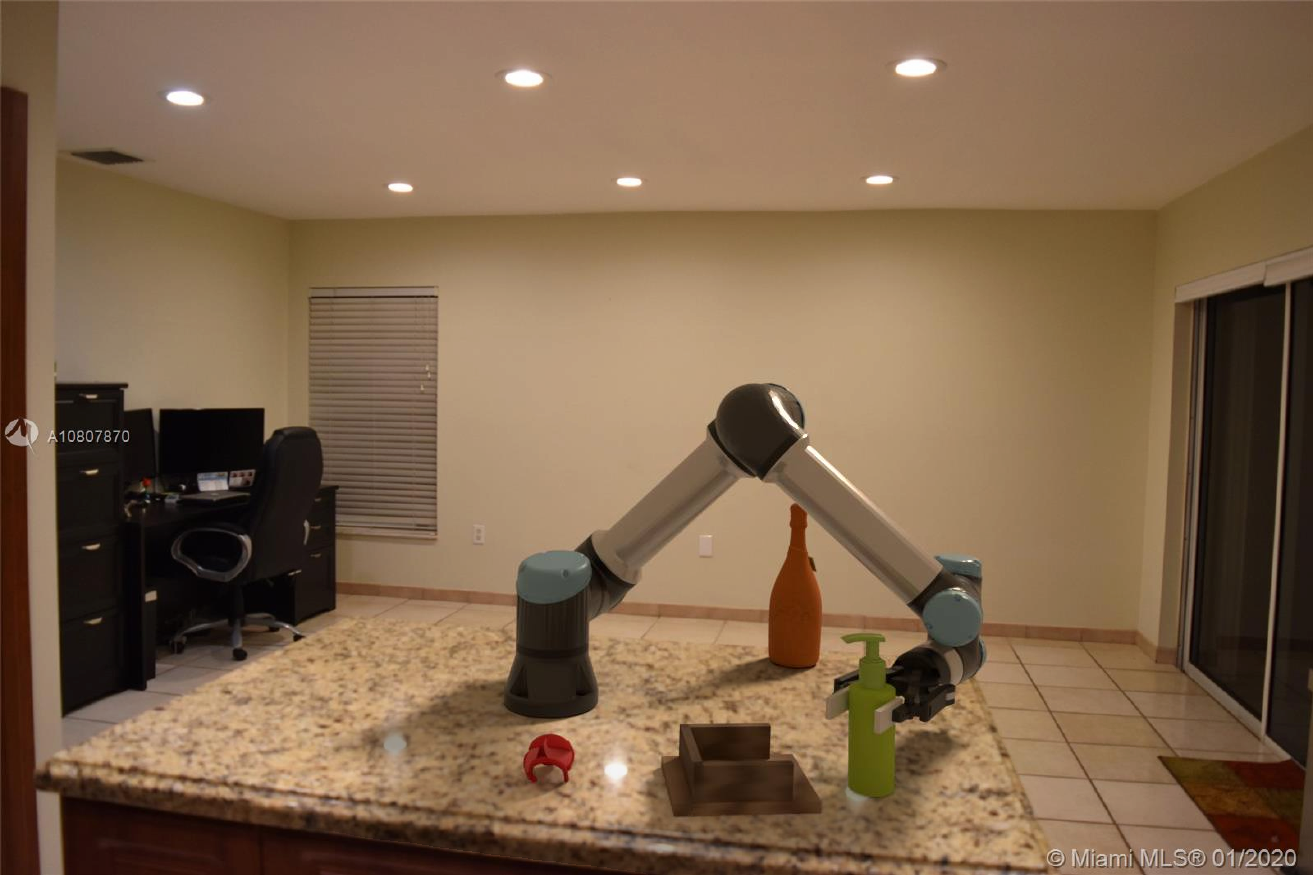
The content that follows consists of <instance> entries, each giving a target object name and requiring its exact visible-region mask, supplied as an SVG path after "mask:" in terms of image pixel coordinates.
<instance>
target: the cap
mask: <svg viewBox="0 0 1313 875" xmlns="http://www.w3.org/2000/svg"><path fill="white" fill-rule="evenodd" d="M575 754H576V752H575V751H574V748H573V745H572V744H571V742H570V740H568V739H566V738H565V737H563V736H561V735H559V734H557V733H545V734H541V735H538V736H537V737H536V738H534V739H533V740H532V741H531V742H530V744H529V747H528V751H527V752H526V753H525V755H524V756H523V759H522V760H523V761H522V765H523V766H522V767H523V770H524V773H525V776H526V777H527V779H528V781H530V782H531V783H532V784H536V783H537V782H538V777H537V776H536V775H535V774H534V768H535V767H536V766H540V765H543V766H547V767H553V766H555V767H557V768H559V769H560V770H561V772H562V775H563V781H564V782H565V783H568V782H569V781H570V777H569V772H570V771H571V769H572V766H573V764H574V761H575V758H576V757H575Z"/></svg>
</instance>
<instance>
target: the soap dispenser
mask: <svg viewBox="0 0 1313 875" xmlns="http://www.w3.org/2000/svg"><path fill="white" fill-rule="evenodd" d="M840 639H841V640H842V641H843V642H844V643H845V644H847V645H849V644H854V643H861V642H864V643H865V656H863V657H861V658H859V660H858V669H859V681H858V682H854V683H851V684H850V685H849V710H848V724H847V725H848V735H847V736H848V737H847V738H848V741H847V745H848V746H847V748H848V749H847V751H848V752H847V753H848V754H847V786H848V789H849V790H850V791H851V792H852V793H855V794H858V795H860V796H864V797H869V798H882V797H883V798H884V797H888V796H890V795H892V794H893V793H894V792H895V787H896V786H895V784H896V781H895V780H896V778H895V777H896V773H895V772H896V769H895V768H896V763H895V762H896V724H894V725H893V726H891V727H890V728H888V729H886V730H885V731H883V732H882V733H880V734H878V733H875V732H874V719H875V710H877V709H878V708H880V707H882V706H883V705H885V704H887V703H888V702H890V701H892V700H893V699H895V698H897V696H896V689H895V688H894V687H893V686H892V685H889V684H887V683H886V668H887V663H886V660H885V659H883V658H882V657H880V643H886V637H885V636H884V635H883V634H881V633H875V632H874V633H873V632H857V633H855V632H854V633H850V634H846V635H842V636H840Z"/></svg>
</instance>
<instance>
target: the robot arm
mask: <svg viewBox="0 0 1313 875" xmlns="http://www.w3.org/2000/svg"><path fill="white" fill-rule="evenodd" d="M805 429H806V414H805V409H804V407H803V404H802V403H801V401H800V400H799V398H798V397H797V395H796V394H794V393H793V392H792V391H791V390H790V389H788V388H787V387H784V386H783V385H780V384H777V383H774V382H767V383H766V382H764V383H746V384H741V385H740V386H737V387H735V388H733V389H732V390H730V391H729V392H728V393H727V394H726V395H725V396H724V397H723V398H722V399H721V402H720V403H719V405H718V407H717V411H716V414H715V418H714V419H712V420H711V422H709V423H708V424H707V425H706V428H705V430H706V434H705V436H706V437H705V440H704V441H702V442H701V444H699V446H697V447H696V448H695V449H694V450H692V452H691V453H690V454H688V455H687V456H686V457H685V459H683V460H682V461H681V462H680V463H679V464H678V465H677V466H675V468H673V469H672V470H671V471H670V472H669V473H668V474H667V475H666V476H665V477H663V479H662V480H661V481H660V482H659V483H657V485H655V486H654V487H653V488H652V489H651V490H650V491H649V492H648V493H647V494H646V495H644V496H643V498H641V499H640V500H639V501H638V502H637V503H636V504H635V505H634V506H633V507H632V508H631V509H630V510H628V511H627V512H626V513H625V514H624V515H623V516H622V517H621V518H620V519H619V520H618V521H617V522H616V523H614V525H613V526H611V527H610V528H608V530H607V529H596V530H594V531H593V532H592V533H591V534H590V535H589V536H588V537H586V538H585V540H583V542H582V543H580V544H579V545H578V546H577V547H576V548H575V549H574V550H568V549H567V550H564V549H563V550H561V549H558V550H557V549H556V550H555V549H554V550H547V551H546V552H537V553H534V554H531V555H529V556H527V557H526V558H524V559H523V560H522V561H521V562H520V564H519V565H518V568H517V578H516V581H515V591H516V606H515V607H516V613H515V614H516V615H515V616H516V618H515V619H516V620H515V621H516V622H515V626H516V627H515V629H516V630H515V642H516V643H515V656H514V658H513V662H512V665H511V667H510V670H509V674H508V676H507V679H506V681H505V685H504V688H503V704H504V706H505V708H507V709H508V710H510V711H512V712H514V713H517V714H520V715H524V716H527V717H528V716H529V717H536V718H562V717H570V716H571V717H572V716H575V715H580V714H583V713H586V712H588V711H590V710H593V709H594V708H595V707H596V706H597V705H598V703H599V697H600V696H599V692H600V690H599V684H598V681H597V677H596V674H595V671H594V667H593V664H592V660H591V657H590V650H589V648H590V644H589V643H590V642H589V641H590V622H591V621H594V619H596V618H599V617H600V616H601V615H603V614H605V613H607V612H608V611H611V610H613V609H615V608H616V607H617V606H618V605H619V604H620V603H621V602H622V601H623V600H624V598H625V597H626V596H627V594H628V593H629V591H631V590H632V589H633V588H634V587H635V586H637V584H639V583H640V581H641V580H642V577H643V567H644V566H646V564H648V563H649V562H650V560H652V559H653V558H654V557H655V556H656V555H658V553H660V552H661V551H662V550H664V548H666V547H667V545H668V544H670V543H671V542H672V541H673V540H674V539H675V538H676V537H677V536H678V535H680V534H681V533H682V532H683V531H684V530H685V529H686V528H687V527H689V525H691V524H692V523H693V522H694V521H695V520H696V519H697V518H698V517H699V516H701V515H702V514H703V513H704V512H705V511H706V510H708V508H710V507H711V506H712V505H714V503H716V501H717V500H719V498H720V497H721V496H723V495H724V494H726V492H728V490H729V489H731V488H732V487H733V486H734V485H735V484H737V482H739V480H741V479H743V478H744V479H745V478H746V479H755V478H758V479H759V480H760V481H761V482H762V483H764V484H775V485H776V486H777V487H778V488H779V489H780V490H781V491H782V492H784V493H785V495H787V496H788V497H789V498H790V499H791V500H792V501H793V503H797V504H798V505H799V506H800V507H801V508H802V509H803V510H804V511H805V512H806V513H807V516H809V517H811V519H813V520H814V521H815V522H816V523H817V524H818V525H820V527H821V528H822V529H823V530H825V532H827V533H828V534H829V535H830V536H831V537H832V538H834V540H835V541H836V542H837V543H839V544H840V545H841V546H842V548H844V549H845V550H846V551H847V552H848V553H849V554H850V555H852V556H853V557H854V559H855V560H857V561H858V562H859V563H861V564H862V566H864V568H865V569H867V570H868V571H869V572H870V573H871V574H873V575H874V576H875V577H876V578H877V580H879V581H880V582H881V583H882V584H883V585H884V586H885V587H887V589H888V590H890V592H892V593H893V594H894V595H895V596H896V597H897V598H898V599H899V600H900V601H902V602H903V603H904V604H905V606H907V607H908V608H909V609H910V611H911V612H913V613H914V614H915V615H916V616H917V617H918V618H919V619H920V620H922V622H923V623H922V624H923V626H924V627H925V629H926V631H927V632H926V641H925V642H922V643H920V644H917V645H916V646H914V647H912V648H911V649H910V650H907V651H906V652H904V653H902V654H900V655H899V656H898V657H897V658H896V659H895V661H894V662H893V663H892V665H891V666H890V667H886V683H887V684H889V685H892V686H893V687H894V688H895V689H896V698H895V699H893V700H892V701H890V702H888V703H887V704H885V705H883V706H882V707H880V708H878V709H877V710H875V719H874V732H875V733H878V734H880V733H882V732H883V731H885V730H886V729H888V728H890V727H891V726H893V725H894V724H895V725H896V724H902V723H904V722H905V721H910V720H914V719H915V718H918V720H919V721H920V722H923V723H928V722H930V721H931V720H932V719H933V718H935V716H936V715H938V714H940V712H941V711H942V710H943V709H945V708H946V707H949V706H952V705H955V703H956V687H957V686H959V685H961V684H962V683H964V682H966V681H967V680H970V679H972V678H973V677H975V676H976V675H977V673H978V672H979V671H980V670H981V669H982V668H983V666H984V665H985V663H986V660H987V654H988V652H987V646H986V644H985V642H984V640H983V638H982V637H981V635H980V630H981V627H982V624H983V622H984V611H983V607H982V586H983V579H984V578H983V570H982V569H983V563H982V562H981V560H980V559H979V558H977V557H975V556H973V555H968V554H961V553H952V552H951V553H938V554H936V555H934V556H932V554H930V553H929V552H928V551H927V550H926V549H925V548H923V546H922V545H920V544H919V543H918V542H917V541H916V540H915V539H914V538H912V536H910V535H909V534H908V532H906V531H905V530H904V529H903V528H902V527H900V526H899V525H898V524H897V522H895V521H894V519H892V518H890V517H889V516H888V514H886V513H885V512H884V511H883V510H882V509H881V508H880V507H878V506H877V504H875V503H874V502H873V501H872V500H871V499H870V498H869V497H867V495H866V494H864V493H863V492H862V491H861V490H860V489H859V488H858V487H857V486H855V485H854V484H853V483H852V482H851V481H850V480H849V479H848V478H847V477H845V475H843V474H842V473H841V472H840V471H839V470H838V469H837V468H835V466H834V465H832V464H831V463H830V462H829V461H828V460H827V459H826V458H825V457H823V455H821V454H820V453H819V452H818V451H817V450H816V449H815V448H814V447H813V446H811V442H810V434H808V432H806V431H805ZM858 681H859V668H857V669H855V670H852V671H849V672H847V673H845V674H843V675H840V676H837V677H835V678H834V680H833V692H832V693H831V694H830V695H828V696H826V698H825V717H824V718H825V719H826V720H830V721H832V720H833V719H835V718H836V717H837V718H838V716H840V715H842V714H843V713H846V712H847V711H849V685H850V684H851V683H854V682H858Z"/></svg>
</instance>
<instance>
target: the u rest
mask: <svg viewBox="0 0 1313 875" xmlns="http://www.w3.org/2000/svg"><path fill="white" fill-rule="evenodd" d="M771 734H772V726H771V724H770V722H745V723H744V722H733V723H732V722H729V723H728V722H726V723H719V722H718V723H679V734H678V736H679V738H678V740H679V741H678V755H661V762H660V763H661V765H660V768H661V771H662V775H663V779H664V783H665V787H666V791H667V796H668V798H669V802H670V807H671V810H672V811H671V812H672V814H673V817H674V818H675V817H712V816H713V817H714V816H715V817H716V816H718V817H719V816H720V817H722V816H723V817H724V816H762V815H801V814H803V815H804V814H809V815H810V814H822V799H821V798H820V797H819V795H818V793H817V792H816V789H815V788H814V787H813V785H812V783H811V782H810V779H809V778H808V777H807V775H806V773H805V772H804V770H803V769H802V767H801V765H800V764H799V762H798V761H797V758H795V756H794V754H793V753H771Z"/></svg>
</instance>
